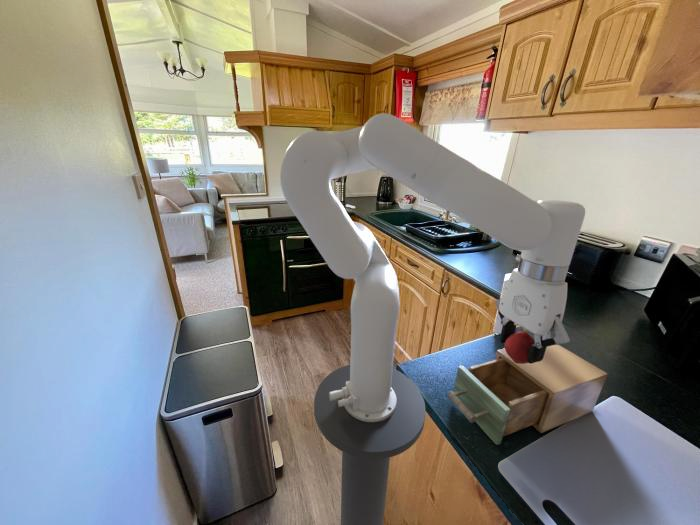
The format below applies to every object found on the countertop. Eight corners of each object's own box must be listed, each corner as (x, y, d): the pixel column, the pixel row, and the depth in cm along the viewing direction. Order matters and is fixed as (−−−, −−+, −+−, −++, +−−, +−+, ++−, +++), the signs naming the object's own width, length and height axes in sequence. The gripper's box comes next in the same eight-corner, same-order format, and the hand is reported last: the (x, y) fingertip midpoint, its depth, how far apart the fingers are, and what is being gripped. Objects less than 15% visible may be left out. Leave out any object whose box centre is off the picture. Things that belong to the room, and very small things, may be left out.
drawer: (477, 453, 55) (486, 418, 52) (435, 402, 67) (440, 370, 64) (551, 422, 62) (562, 390, 59) (501, 380, 74) (509, 351, 71)
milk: (492, 332, 96) (505, 271, 89) (494, 324, 101) (506, 265, 94) (513, 338, 93) (528, 275, 86) (513, 329, 98) (528, 268, 91)
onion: (527, 356, 62) (536, 324, 59) (537, 374, 57) (548, 340, 54) (498, 351, 63) (506, 320, 61) (505, 369, 58) (514, 335, 55)
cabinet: (541, 433, 61) (554, 393, 57) (488, 385, 73) (496, 350, 69) (592, 411, 66) (608, 373, 63) (535, 370, 79) (545, 337, 75)
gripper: (489, 256, 59) (474, 331, 65) (576, 291, 44) (545, 385, 50) (516, 253, 62) (499, 326, 68) (607, 285, 47) (574, 375, 53)
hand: (519, 350), depth 59 cm, fingers closed on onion, 5 cm apart
